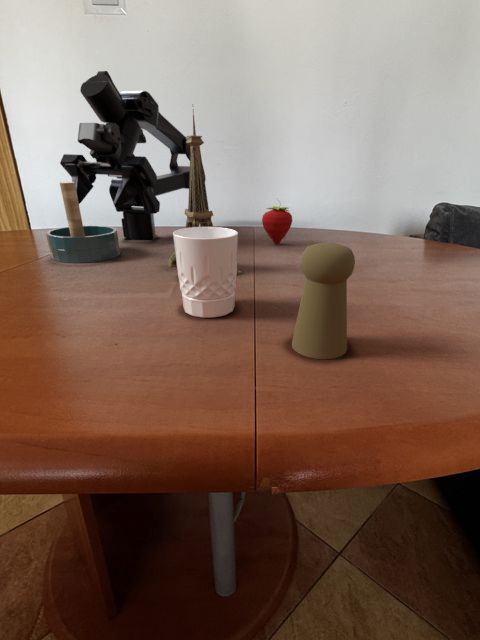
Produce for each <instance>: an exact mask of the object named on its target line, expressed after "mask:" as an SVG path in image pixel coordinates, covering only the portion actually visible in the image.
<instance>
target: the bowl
mask: <svg viewBox="0 0 480 640" xmlns="http://www.w3.org/2000/svg"><path fill="white" fill-rule="evenodd" d="M83 229H84V234H85V236H84V237H71V235H70V230H69V226H64V227H58V228H54V229H50V230H48V231H46V232H45V237H46V240H47V244H48V248H49V253H50V257H51V259H52V260H53V261H56V262H60V263H69V264H84V263H87V264H88V263H96V262H104V261H107V260H111V259H115V258H117V257H119V256H120V255H121V249H120V242H119V235H118V229H117V228H116V227H113V226H107V225H83Z"/></svg>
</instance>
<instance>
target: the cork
mask: <svg viewBox="0 0 480 640" xmlns="http://www.w3.org/2000/svg"><path fill="white" fill-rule="evenodd" d="M355 258H356V257H355V254H354V252H353V251H352V249H351V248H350V247H349V246H346V245H343V244H339V243H335V242H318V243H313V244H310V245H309V246H307V247H306V248H305V250H304V251H303V253H302V256H301V270H302V273H303V276H304V277H305V279H304V284H303V289H302V293H301V299H300V302H299V303H300V304H299V307H298V312H297V317H296V321H295V327H294V331H293V336H292V341H291V348H292V349H293V351H295V352H296V353H297V354H299V355H301V356H304V357H306V358H310V359H315V360H332V359H337V358H340V357H342V356H343V355H345V354H346V353H347V350H348V291H347V290H348V283H347V282H348V279H349V278H350V277H351V276H352V274H353V272H354V269H355V265H356V261H355V260H356V259H355Z"/></svg>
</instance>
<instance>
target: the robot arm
mask: <svg viewBox="0 0 480 640" xmlns="http://www.w3.org/2000/svg"><path fill="white" fill-rule="evenodd" d="M79 91H80V93H81V95H82V97H83V98H84V99H85V101H86V102H87V104H88V105H89V106H90V108H91V109H92V111H93V112H94V114H95V115H96V117H97V118H98V120H99V121H101V122H102V123H98V122H79V125H78V132H77V133H78V134H77V143H79V144H82V145H84V146H85V147H86V148H87V149H89V150H90V151H89V154H90V157H91V158H92V159H95V161H88V160H87V159H86V158H85V156H84V154H71V153H70V154H69V153H68V154H67V153H64V154H63V155H62V157H61V159H60V162H59V164H60V165H61V167H62V168H63V169H64V170H65V171H66V172H67V174H69V176H70V177H71V182H75V187H76V192H77V197H78V202H79V205H80V204H82V202H83V201H84V199H85V198H86V197H87V196H88V194H89V193H90V192H91V191H92V190H93V188H94V185H93V184H95V182H96V180H97V175H102V176H103V175H105V176H108V177H110V178H112V179H111V180H110V185H109V187H108V192H109V193H108V194H109V196H110V198H111V200H112V201H111V202H112V203H113V206H114V208H115V211H116V212H117V213H121V212H122V215H123V216H122V218H121V226H122V228H121V229H122V235H123V240H124V241H154V240H155V239H157V238H158V237H159V236H158V234H156V224H155V223H156V222H155V216H154V215H155V214H158V213H160V207H161V202H160V200H159V199H158V198H157V196H161V195H162V196H163V195H164V194H168V193H173V192H175V191H179V190H182V189H183V190H185V189H186V190H189V174H190V165H186V166H185V165H179V164H178V157H179V155H185V156H186V158H187V159H188V161H189V162H190V145H189V144H187V143H186V141H187V140H188V138H189V137H187V136H185V135H184V134H183V133H182V132H181V131H180V130H179V129H177V127H175V126H174V125H173V124H172V123H171V122H170V120H168V119H167V118H166V117H165V116H164V115H163V114H161V112H160V108H159V104H158V102H157V100H155V99H154V97H153V96H152V94H150V92H148V91H147V90H133V91H131V90H129V91H120V92H119V90H118V88H117V86H116V85H115V83H114V81H113V79H112V77H111V75H110V73H109V72H108V71H107V70H99V71H97V72H96V75H93V76H91V77H89V78H88V79H87V80H86V81H84V82H82V84H81V85H80V89H79ZM143 130H145V131H146V132H148V133H149V134H150V135H151V136H152V137H154V138H155V139H156V140H158V141H159V142H160V143H161V144H163V145H164V146H165V147H166V148H167V149H169V152H170V160H169V165H168V167H169V170H170V172H169V173H163V174H161V175H157V173H156V172H155V170H154V168H153V167H152V165H151V163H150V162H149V159H148V158H147V157H146V156H141V155H140V156H139V155H138V156H136V155H135V154H134V152H135V149H136V147H137V145H138V144H147V138H146V136H145V134H144V131H143ZM202 165H203V163H202ZM203 166H204V165H203ZM203 173H204V180H205V181H206V179H207V178H206V173H205V169H204V167H203Z"/></svg>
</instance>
